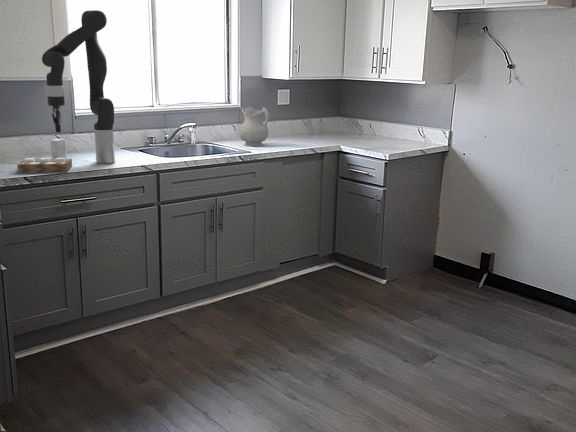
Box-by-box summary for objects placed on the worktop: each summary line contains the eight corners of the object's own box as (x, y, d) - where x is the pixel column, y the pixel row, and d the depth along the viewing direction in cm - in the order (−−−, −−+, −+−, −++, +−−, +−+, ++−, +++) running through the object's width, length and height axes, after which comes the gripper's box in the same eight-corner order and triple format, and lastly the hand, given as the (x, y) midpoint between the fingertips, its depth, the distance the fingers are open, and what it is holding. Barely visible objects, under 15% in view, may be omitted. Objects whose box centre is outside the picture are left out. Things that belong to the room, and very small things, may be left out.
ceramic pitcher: (276, 146, 394) (278, 107, 390) (263, 147, 377) (264, 107, 372) (246, 144, 403) (248, 106, 398) (232, 145, 385) (233, 105, 381)
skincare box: (60, 161, 318) (58, 138, 315) (66, 162, 317) (65, 139, 314) (51, 163, 313) (50, 140, 310) (58, 164, 311) (56, 140, 308)
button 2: (65, 161, 298) (65, 157, 297) (64, 163, 294) (64, 158, 293) (57, 161, 297) (56, 157, 296) (55, 163, 293) (55, 159, 293)
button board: (72, 166, 305) (71, 157, 304) (67, 172, 290) (66, 163, 288) (25, 167, 301) (24, 158, 299) (18, 173, 285) (17, 163, 284)
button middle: (50, 161, 296) (50, 157, 296) (49, 163, 293) (48, 159, 292) (41, 161, 296) (41, 157, 295) (40, 163, 292) (39, 159, 291)
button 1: (35, 162, 295) (35, 157, 295) (33, 163, 291) (33, 159, 291) (26, 162, 294) (26, 158, 294) (24, 163, 291) (24, 159, 290)
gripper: (61, 96, 282) (64, 133, 286) (66, 94, 294) (68, 130, 299) (44, 96, 280) (47, 133, 285) (49, 94, 293) (52, 130, 297)
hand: (58, 132), depth 292 cm, fingers closed
